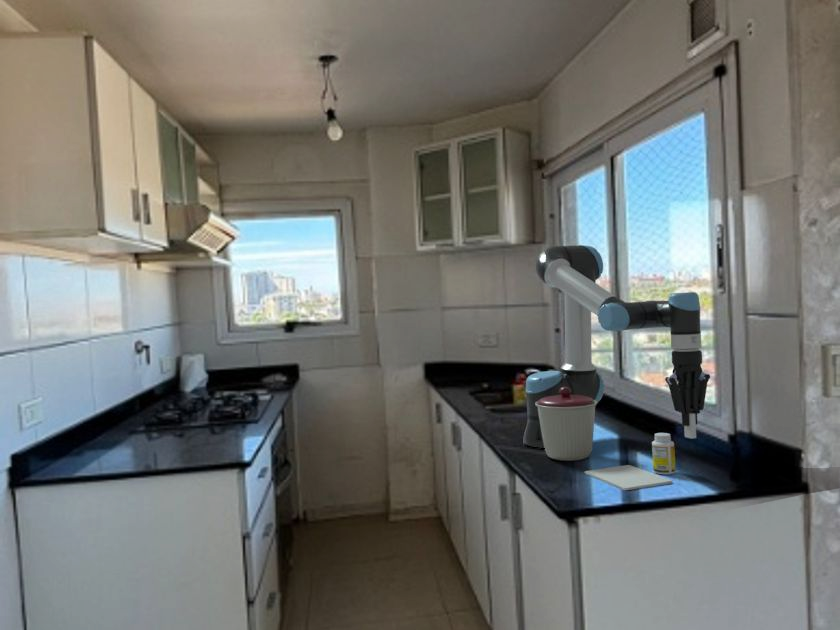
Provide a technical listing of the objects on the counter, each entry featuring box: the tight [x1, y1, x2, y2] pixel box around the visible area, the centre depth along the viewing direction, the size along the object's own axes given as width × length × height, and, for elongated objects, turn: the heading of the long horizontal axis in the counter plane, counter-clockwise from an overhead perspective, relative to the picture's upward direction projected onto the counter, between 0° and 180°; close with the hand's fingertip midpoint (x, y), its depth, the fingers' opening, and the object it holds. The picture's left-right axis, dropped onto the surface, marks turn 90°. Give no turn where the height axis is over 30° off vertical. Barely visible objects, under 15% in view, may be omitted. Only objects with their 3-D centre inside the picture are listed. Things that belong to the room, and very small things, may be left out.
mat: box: [584, 464, 674, 492], centre depth 168 cm, size 18×14×1 cm
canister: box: [535, 387, 598, 462], centre depth 193 cm, size 18×18×21 cm
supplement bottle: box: [651, 432, 677, 476], centre depth 171 cm, size 6×6×10 cm
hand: (690, 437), depth 174 cm, fingers closed
